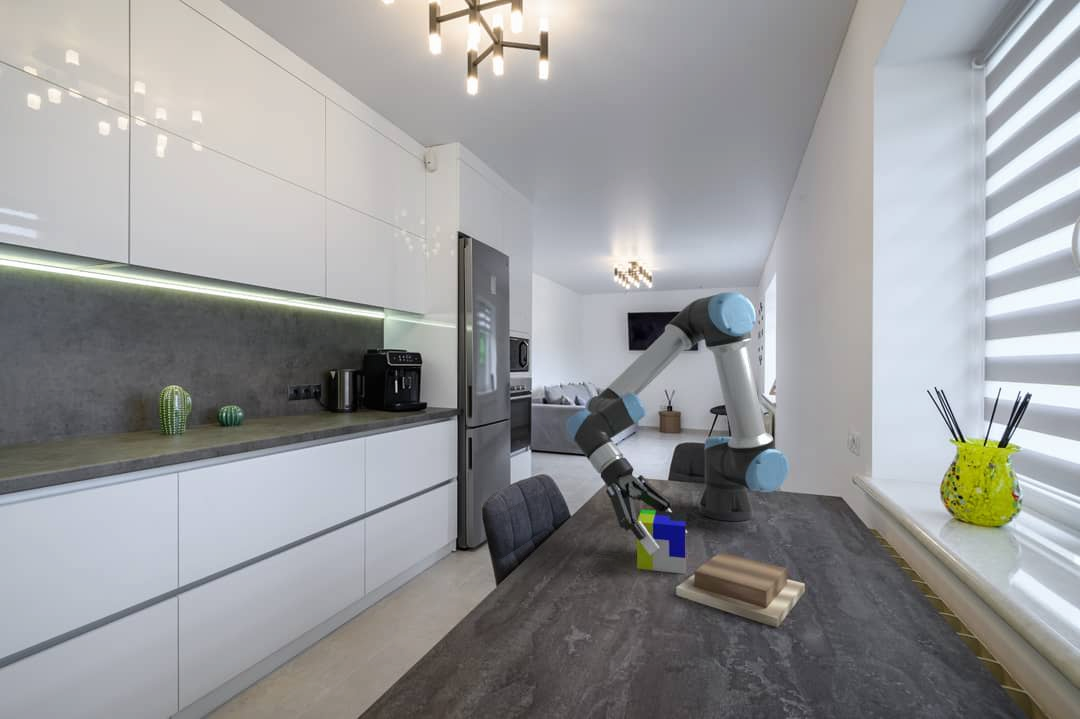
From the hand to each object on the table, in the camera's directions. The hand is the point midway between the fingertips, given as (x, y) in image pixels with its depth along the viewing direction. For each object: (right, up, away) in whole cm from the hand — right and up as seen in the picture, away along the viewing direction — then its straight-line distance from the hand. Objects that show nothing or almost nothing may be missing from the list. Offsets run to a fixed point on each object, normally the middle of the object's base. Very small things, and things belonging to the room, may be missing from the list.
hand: (669, 543), depth 109 cm
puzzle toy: (-1, -5, +1) cm, 5 cm away
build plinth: (+10, -4, -14) cm, 18 cm away
